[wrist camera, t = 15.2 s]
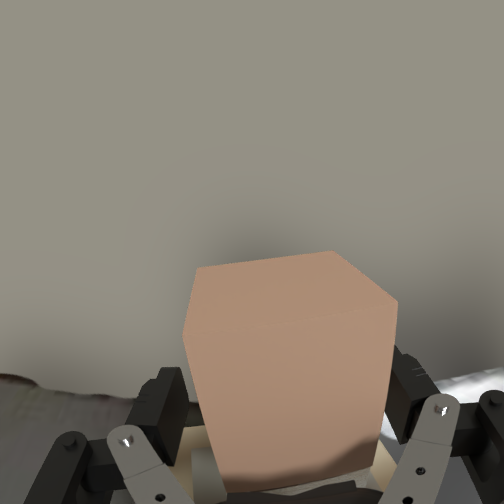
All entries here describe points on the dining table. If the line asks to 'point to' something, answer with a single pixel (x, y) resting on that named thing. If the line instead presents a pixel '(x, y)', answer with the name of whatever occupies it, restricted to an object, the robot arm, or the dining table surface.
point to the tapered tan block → (290, 367)
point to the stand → (209, 479)
